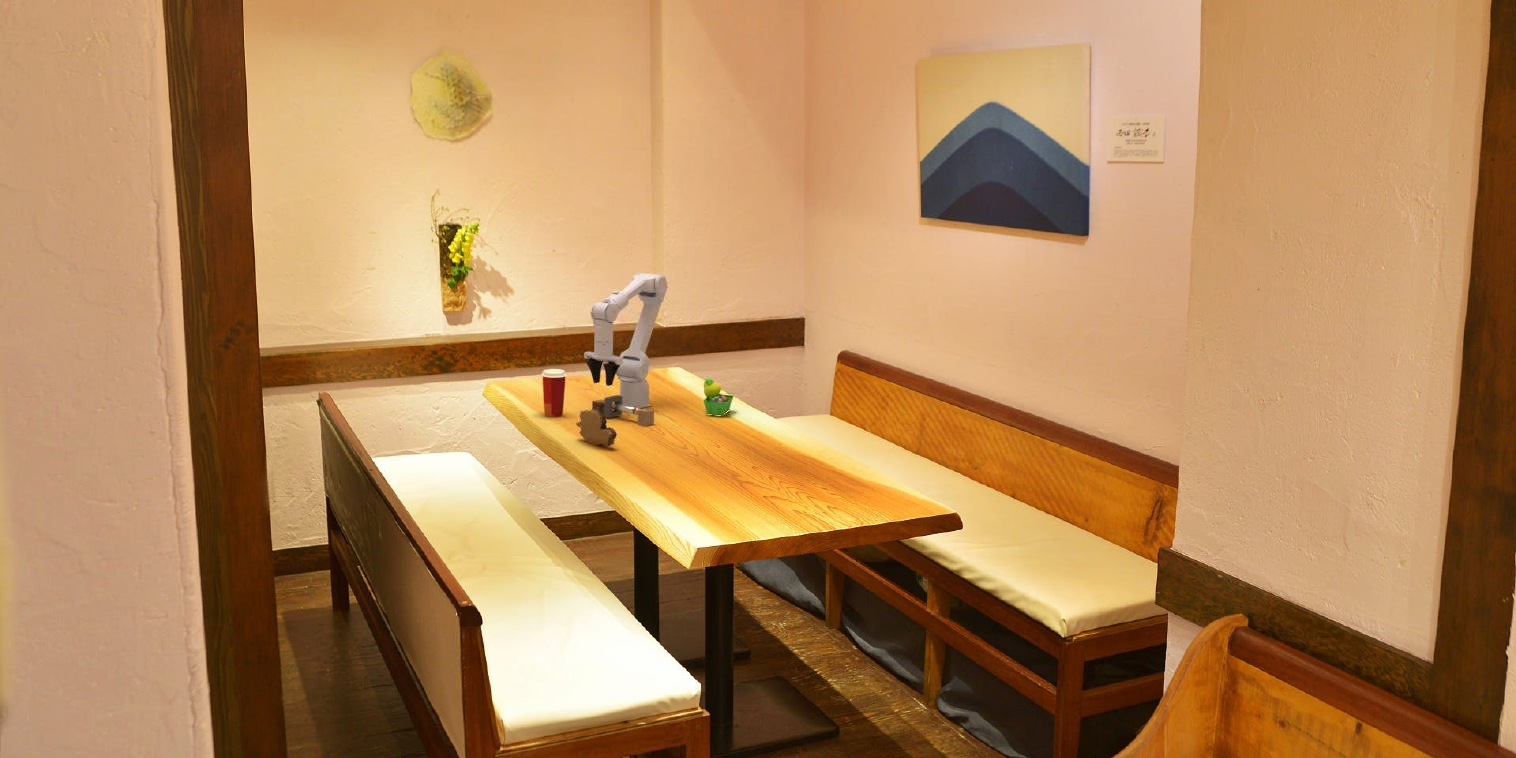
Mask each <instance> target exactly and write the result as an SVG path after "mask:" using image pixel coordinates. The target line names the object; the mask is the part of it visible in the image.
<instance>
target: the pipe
mask: <svg viewBox="0 0 1516 758" xmlns="http://www.w3.org/2000/svg"><path fill="white" fill-rule="evenodd" d="M591 407H592V409H591V410H597V411H598V412H600V413H601V414H602V415H604V399H597V400H592V406H591ZM612 410H617V411H622V413H623V412H624V413H627V414H632V415H635V416H637V425H638V426H641V427H648V426H652V425H654V424H655V410H653V409H650V408H649V409H648V408H645V409H644V408H636V407H635V408H634V407H630V406H625V405H620V404H615V403H614V402H613V403H612Z"/></svg>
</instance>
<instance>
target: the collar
mask: <svg viewBox="0 0 1516 758" xmlns="http://www.w3.org/2000/svg"><path fill="white" fill-rule="evenodd" d="M603 400H604V415H605V417H606V418H613V417H614V418H615V417H617V416H618V417H619V416H622V415H623V412H622V411H617V410H613V409H612V403H615V404H620V405H622V396H620V394H616V395H611V396H607V397H604V399H603Z"/></svg>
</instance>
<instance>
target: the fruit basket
mask: <svg viewBox="0 0 1516 758" xmlns="http://www.w3.org/2000/svg"><path fill="white" fill-rule="evenodd" d="M703 388H704V390H703V392H704V395H705V397H706V398H704V400H703V403H704V407H705V412H706V415H707V414H712V415H721V416H723V415H724V413H726V412H727V411H728V410H729V411H730V409H731V406H732V402H733V399H734V395H731V394H723V393H721V390H722V387H721V386H720V385H719V384H718V383H717V382H716V381H715V380H713V379H712V378H711V377H710V378H709V377H708V378H705V380H704V383H703ZM729 411H728V412H729ZM728 412H727V413H728ZM727 413H726V414H727ZM724 416H725V415H724ZM724 416H723V417H724Z"/></svg>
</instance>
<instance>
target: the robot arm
mask: <svg viewBox="0 0 1516 758" xmlns="http://www.w3.org/2000/svg"><path fill="white" fill-rule="evenodd" d="M668 287H669V286H668V282H667V278H666V276H665V275H664V274H655V273H654V274H653V273H646V272H645V273H644V272H641V271H640V272H639V271H638V272H637V273H636V274H635V275H633V276H632V279H631V282H630V283H629V284H628V285H626V286H625V288H623V290H614V291H613V292H612V294H610V295H609V296H608V297H607V298H604V299H603V301H601V302H599V301H598V302H596V303H594V304H593V305H592V308H591V311H590V317H591V319H592V324H593V326H594V346H593V347H594V349H593V350H594V351H585V352H584V354H583V356H584V359H589V360H586V365H587V366H588V369H589V371H590V373H591V374H590V375H591V377H592V382H593V384H598V383H600V381H601V371H602V365H603V368H604V372H605V384H606V386H608V387H609V386H613V384H614V380H615V377H616V376H617V377H618V378H617V380H619V395H620V396H622V405H625V406H630V407H634V408H635V407H636V408H641V409H644V408H647V407H651V406H652V404H650V384H649V382H648V380H647V379H646V378H647V376H648V374H649V367H650V363H651V361H650V359H649V357H648V355H647V354H646V351H647V349H648V345H649V342H650V339H651V336H652V333H653V330H654V327H655V324H656V322H657V321H656V320H657V318H658V315H659V312H660V309H661V306H662V303H663V302H664V300H665V296H666V293H667V291H668V289H669V288H668ZM635 296H638V299H639V300H640V301H641V302H642V303H643V306H642V309H641V312H640V315H639V318H638V321H637V324H636V326H635V330H634V332H633V336H632V339H631V341H630V345H629V347H628V348H627V349H625V350H624V351H622V352H621V353H620V355H619V356H617V355H614V351H613V350H614V322H615V321H616V320H617V318H618V315H619V314H620V313H621V312H622V310H623V309H625V308H626V307H627V306H628V305H629V300H632V299H633V298H634V297H635ZM604 362H605V363H604Z"/></svg>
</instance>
